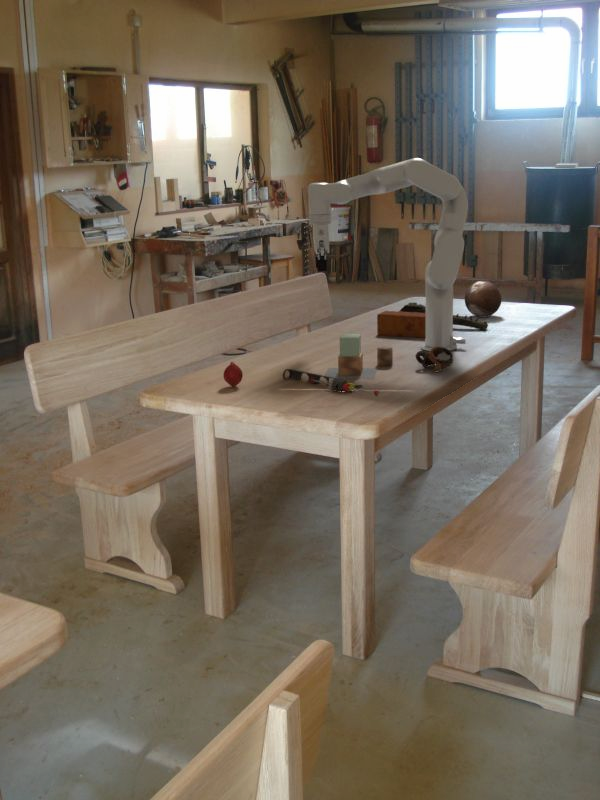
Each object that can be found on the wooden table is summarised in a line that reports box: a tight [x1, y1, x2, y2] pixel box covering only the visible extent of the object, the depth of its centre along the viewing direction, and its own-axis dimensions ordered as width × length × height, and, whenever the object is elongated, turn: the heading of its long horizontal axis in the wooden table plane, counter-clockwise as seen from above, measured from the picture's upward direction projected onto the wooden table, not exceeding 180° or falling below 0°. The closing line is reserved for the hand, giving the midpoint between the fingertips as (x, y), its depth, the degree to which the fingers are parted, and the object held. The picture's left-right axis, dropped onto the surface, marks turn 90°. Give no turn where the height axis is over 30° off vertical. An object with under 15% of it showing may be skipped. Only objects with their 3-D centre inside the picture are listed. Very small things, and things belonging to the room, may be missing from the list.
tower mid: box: [339, 333, 362, 357], centre depth 297 cm, size 6×6×6 cm
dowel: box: [376, 346, 394, 368], centre depth 308 cm, size 5×5×6 cm
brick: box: [376, 310, 425, 339], centre depth 357 cm, size 20×8×8 cm, turn 63°
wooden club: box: [399, 302, 489, 331], centre depth 369 cm, size 39×5×10 cm, turn 67°
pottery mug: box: [415, 347, 454, 372], centre depth 302 cm, size 12×10×8 cm
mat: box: [322, 367, 379, 380], centre depth 299 cm, size 16×14×1 cm
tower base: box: [337, 351, 364, 376], centre depth 298 cm, size 7×7×6 cm
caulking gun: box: [282, 368, 379, 397], centre depth 283 cm, size 4×37×10 cm
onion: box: [223, 361, 244, 388], centre depth 286 cm, size 6×6×8 cm
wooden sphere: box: [464, 280, 503, 318], centre depth 388 cm, size 15×15×15 cm
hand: (321, 269), depth 328 cm, fingers open, 9 cm apart
